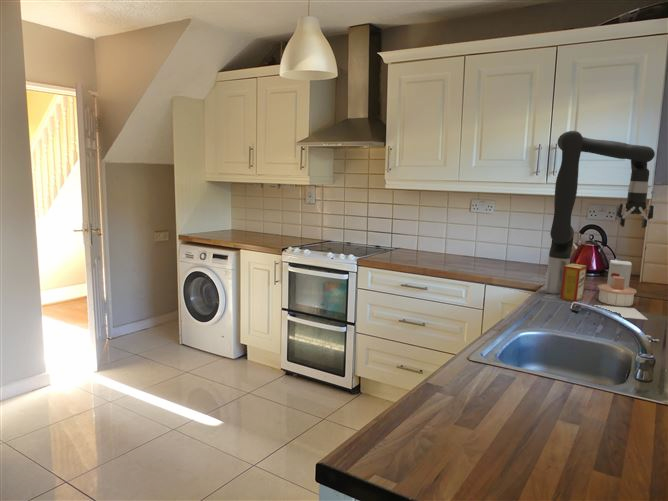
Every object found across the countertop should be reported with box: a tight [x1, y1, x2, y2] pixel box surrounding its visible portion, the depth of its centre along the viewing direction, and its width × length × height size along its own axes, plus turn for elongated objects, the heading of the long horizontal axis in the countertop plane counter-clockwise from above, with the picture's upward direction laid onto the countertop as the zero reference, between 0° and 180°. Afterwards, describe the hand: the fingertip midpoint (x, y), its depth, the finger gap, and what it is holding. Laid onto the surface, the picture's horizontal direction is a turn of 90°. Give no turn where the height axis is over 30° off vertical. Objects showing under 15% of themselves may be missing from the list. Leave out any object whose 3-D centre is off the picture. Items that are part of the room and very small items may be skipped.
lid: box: [597, 276, 637, 295], centre depth 222 cm, size 15×15×6 cm
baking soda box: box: [560, 263, 588, 302], centre depth 226 cm, size 10×6×16 cm
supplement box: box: [606, 259, 633, 287], centre depth 242 cm, size 9×9×15 cm
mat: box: [593, 304, 649, 321], centre depth 208 cm, size 16×16×1 cm
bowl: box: [598, 289, 635, 307], centre depth 223 cm, size 13×13×6 cm
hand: (632, 227), depth 228 cm, fingers open, 8 cm apart
